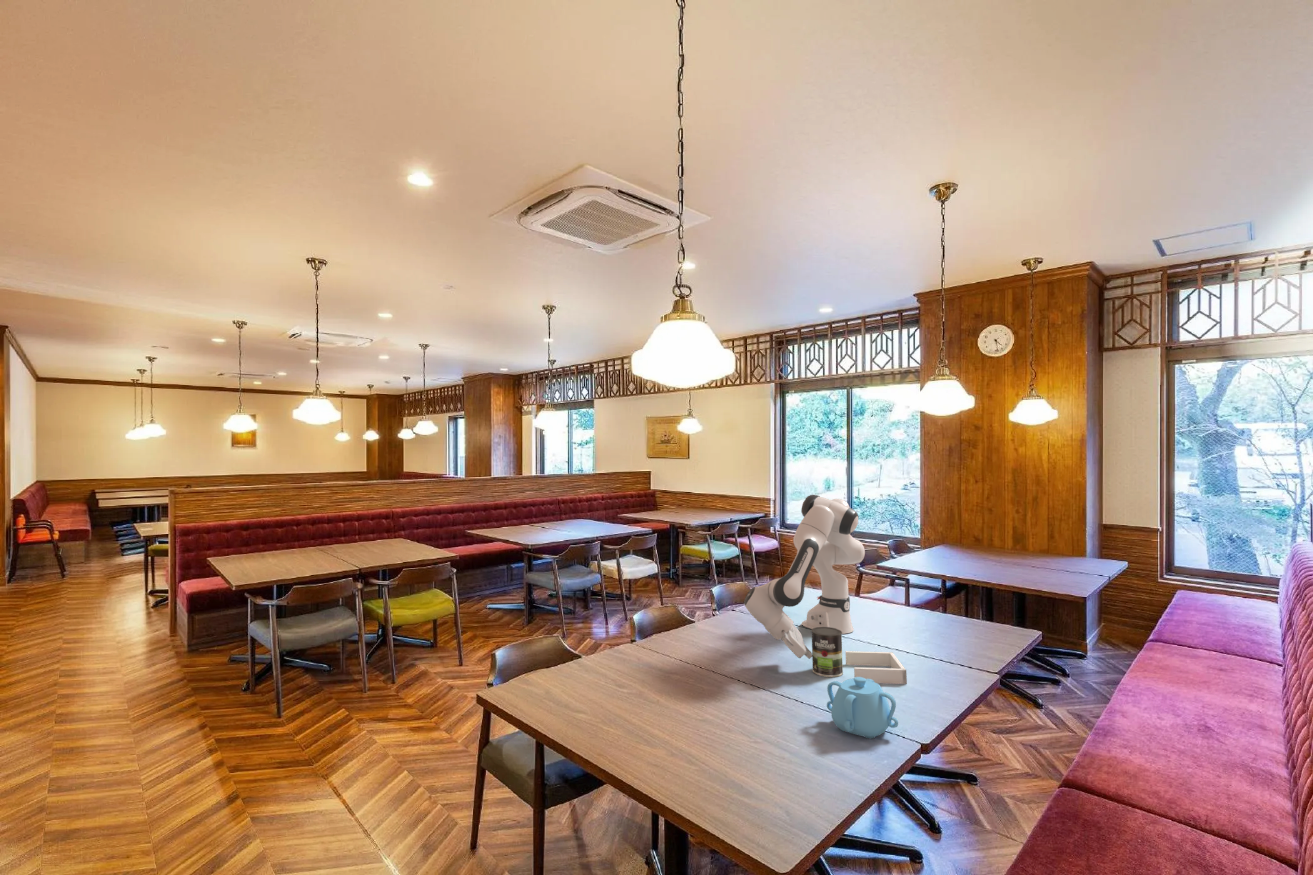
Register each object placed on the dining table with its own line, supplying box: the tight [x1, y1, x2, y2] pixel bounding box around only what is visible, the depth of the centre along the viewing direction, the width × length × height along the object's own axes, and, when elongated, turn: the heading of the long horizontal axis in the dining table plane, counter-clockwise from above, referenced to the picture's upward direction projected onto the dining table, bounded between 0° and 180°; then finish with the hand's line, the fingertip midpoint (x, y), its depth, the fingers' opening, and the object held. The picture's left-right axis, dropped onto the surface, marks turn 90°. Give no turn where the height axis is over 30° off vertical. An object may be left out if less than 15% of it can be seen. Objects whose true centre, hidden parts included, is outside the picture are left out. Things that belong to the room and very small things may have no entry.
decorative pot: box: [826, 677, 899, 739], centre depth 157 cm, size 16×16×14 cm
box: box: [845, 650, 908, 685], centre depth 196 cm, size 16×17×4 cm
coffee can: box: [810, 627, 844, 678], centre depth 199 cm, size 10×10×14 cm
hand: (810, 656), depth 200 cm, fingers closed
